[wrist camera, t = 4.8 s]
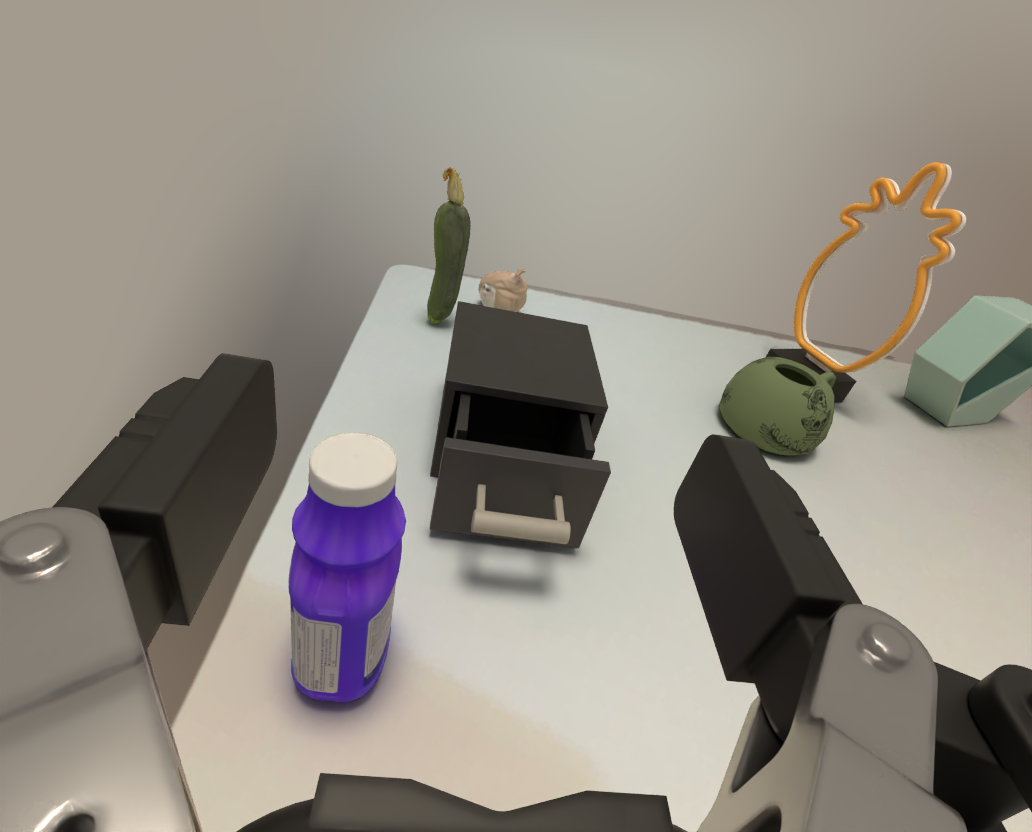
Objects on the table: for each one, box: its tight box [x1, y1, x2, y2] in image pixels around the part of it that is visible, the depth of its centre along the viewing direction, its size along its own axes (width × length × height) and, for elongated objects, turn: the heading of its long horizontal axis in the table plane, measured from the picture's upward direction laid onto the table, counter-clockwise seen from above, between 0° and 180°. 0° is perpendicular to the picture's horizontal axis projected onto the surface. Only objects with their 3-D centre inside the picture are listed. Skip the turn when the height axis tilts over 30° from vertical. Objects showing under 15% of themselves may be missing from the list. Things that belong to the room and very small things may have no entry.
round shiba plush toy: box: [479, 269, 527, 312], centre depth 79 cm, size 7×6×8 cm
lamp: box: [766, 162, 966, 403], centre depth 74 cm, size 17×9×32 cm, turn 21°
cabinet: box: [430, 301, 608, 477], centre depth 55 cm, size 15×14×11 cm
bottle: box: [289, 433, 406, 703], centre depth 31 cm, size 7×6×17 cm
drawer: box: [430, 391, 611, 548], centre depth 47 cm, size 18×13×9 cm
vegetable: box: [427, 167, 470, 324], centre depth 68 cm, size 4×4×20 cm
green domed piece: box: [719, 357, 836, 455], centre depth 69 cm, size 16×13×9 cm
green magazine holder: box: [904, 296, 1032, 427], centre depth 81 cm, size 17×8×21 cm
